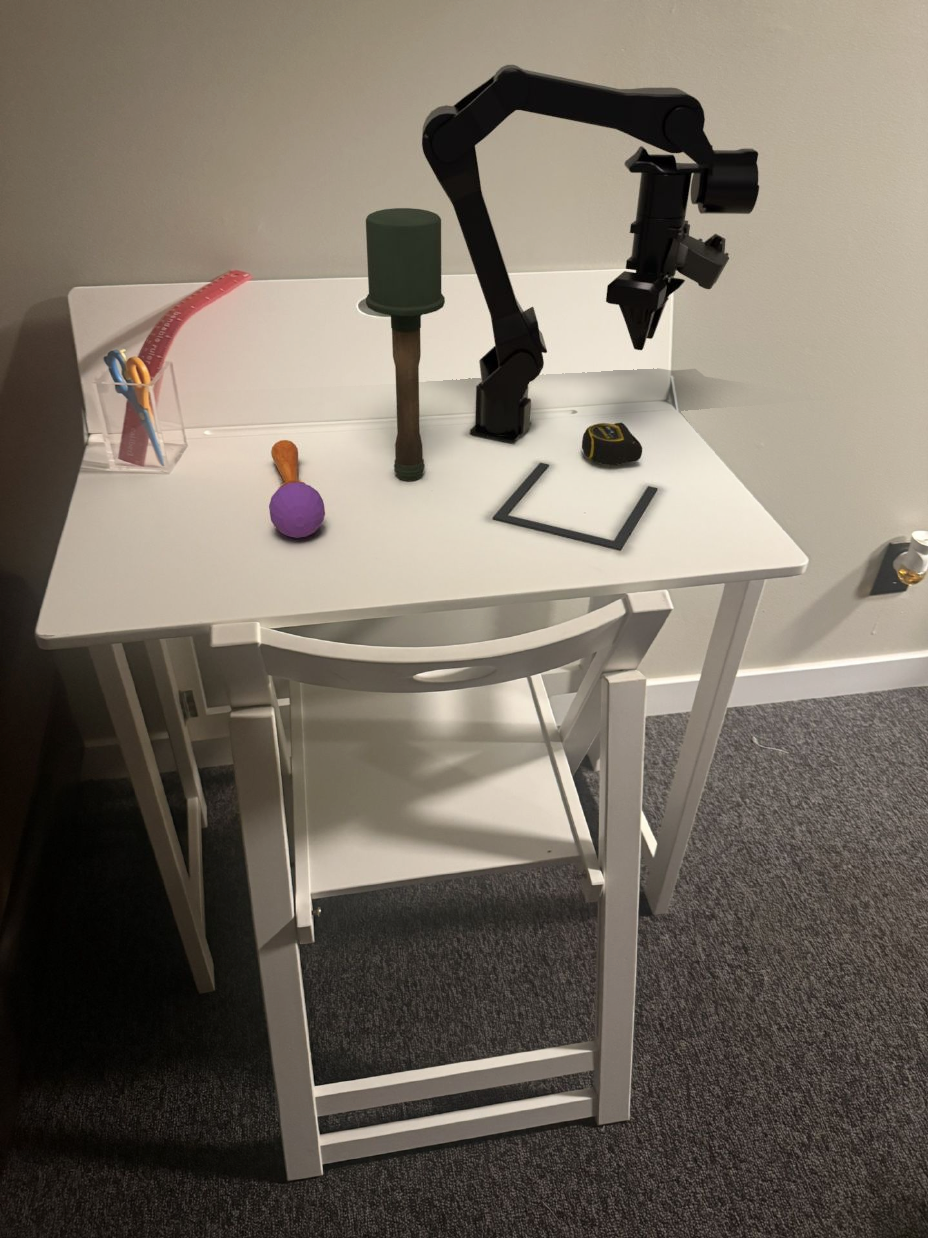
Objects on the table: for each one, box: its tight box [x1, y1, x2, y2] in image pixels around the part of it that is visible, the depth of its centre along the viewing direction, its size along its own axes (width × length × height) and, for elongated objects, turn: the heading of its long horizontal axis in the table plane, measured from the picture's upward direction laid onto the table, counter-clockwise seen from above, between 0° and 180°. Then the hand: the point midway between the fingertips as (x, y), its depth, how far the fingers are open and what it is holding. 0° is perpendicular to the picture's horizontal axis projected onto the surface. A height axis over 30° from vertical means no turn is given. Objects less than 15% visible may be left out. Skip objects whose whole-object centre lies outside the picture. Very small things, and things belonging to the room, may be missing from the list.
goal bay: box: [492, 462, 658, 551], centre depth 106 cm, size 15×15×1 cm
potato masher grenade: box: [365, 207, 446, 482], centre depth 102 cm, size 8×9×30 cm
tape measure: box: [581, 422, 643, 467], centre depth 115 cm, size 7×7×4 cm
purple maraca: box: [268, 439, 326, 539], centre depth 104 cm, size 6×6×20 cm
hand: (643, 343), depth 115 cm, fingers open, 4 cm apart
